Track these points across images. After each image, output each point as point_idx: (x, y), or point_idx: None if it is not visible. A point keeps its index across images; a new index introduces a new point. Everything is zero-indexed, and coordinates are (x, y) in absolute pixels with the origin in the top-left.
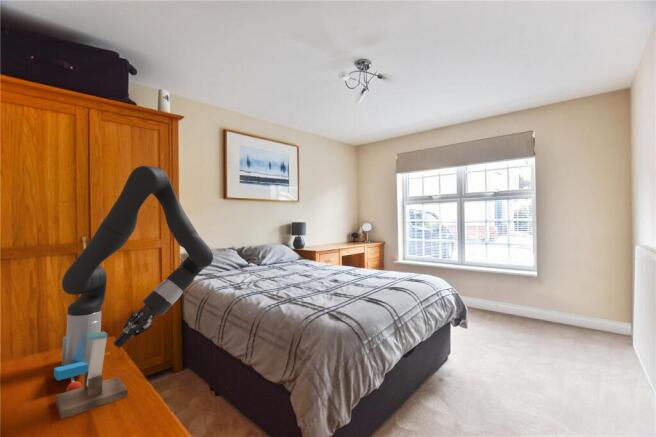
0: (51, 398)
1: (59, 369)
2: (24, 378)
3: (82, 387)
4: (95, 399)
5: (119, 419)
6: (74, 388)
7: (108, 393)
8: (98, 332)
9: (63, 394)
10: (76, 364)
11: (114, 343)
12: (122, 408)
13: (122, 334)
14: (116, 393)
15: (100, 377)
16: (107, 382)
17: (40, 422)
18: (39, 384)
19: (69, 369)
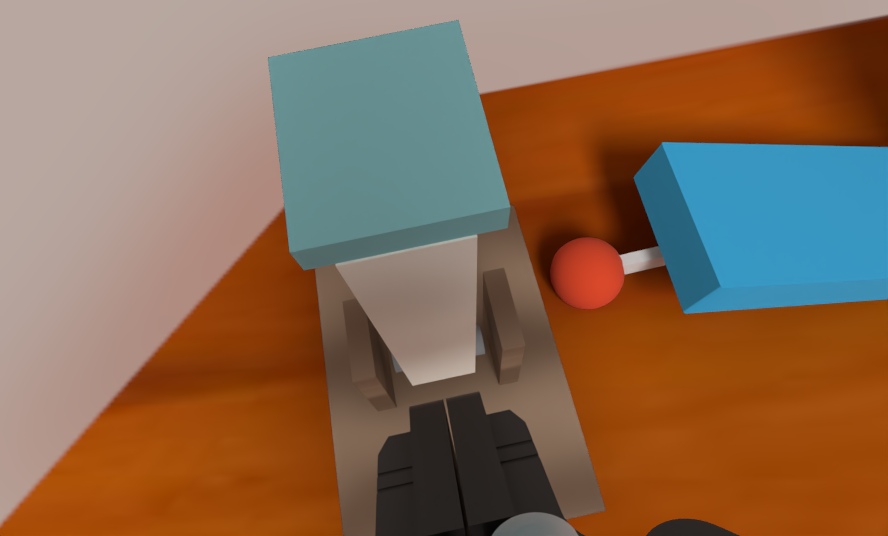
0: (568, 204)
1: (766, 156)
2: (870, 72)
3: (538, 308)
4: (335, 380)
5: (125, 511)
6: (553, 272)
7: (366, 447)
8: (475, 134)
9: (499, 232)
10: (865, 236)
11: (419, 405)
12: (230, 531)
13: (449, 499)
14: (341, 495)
15: (353, 369)
16: (536, 440)
17: None
18: (765, 136)
19: (677, 194)
